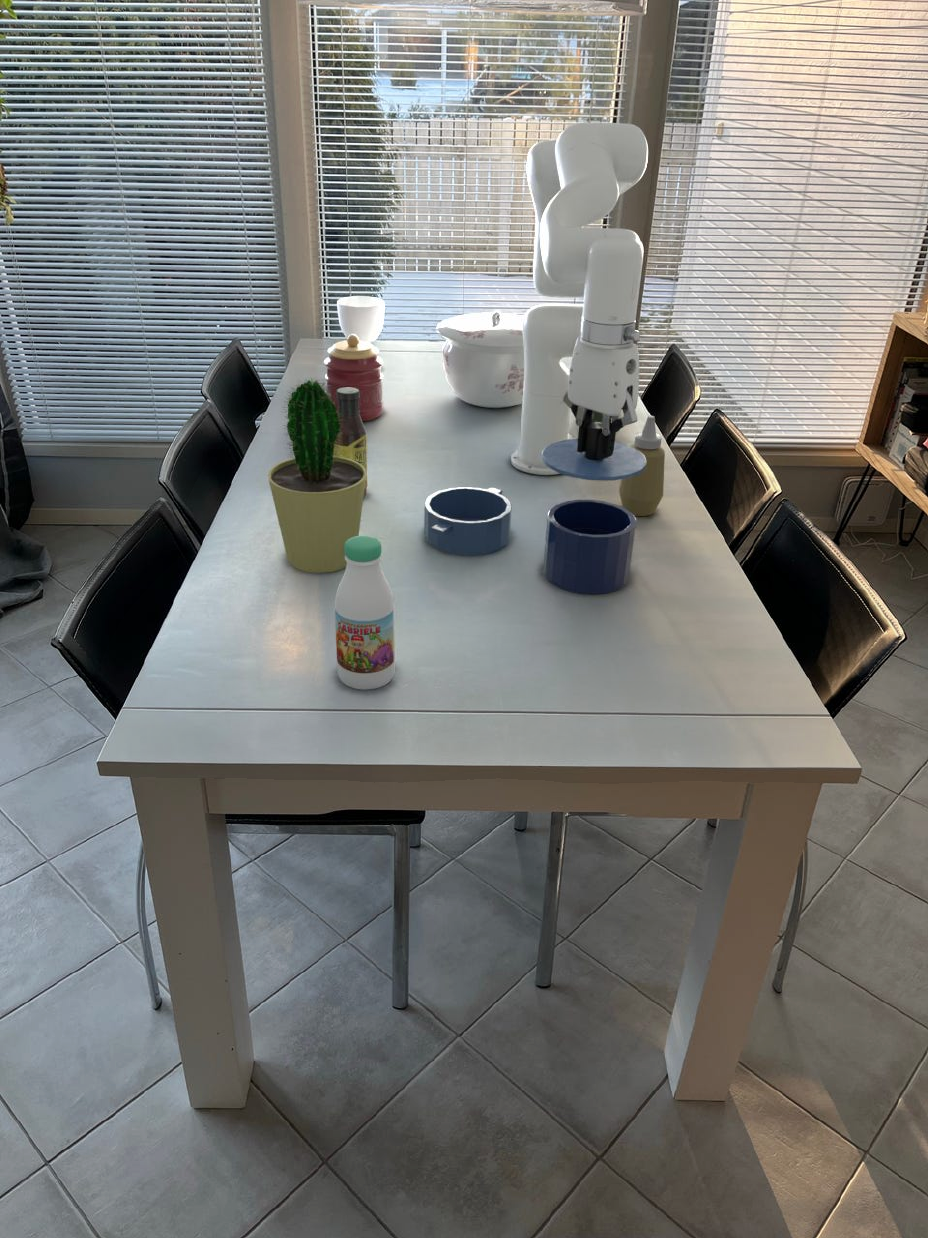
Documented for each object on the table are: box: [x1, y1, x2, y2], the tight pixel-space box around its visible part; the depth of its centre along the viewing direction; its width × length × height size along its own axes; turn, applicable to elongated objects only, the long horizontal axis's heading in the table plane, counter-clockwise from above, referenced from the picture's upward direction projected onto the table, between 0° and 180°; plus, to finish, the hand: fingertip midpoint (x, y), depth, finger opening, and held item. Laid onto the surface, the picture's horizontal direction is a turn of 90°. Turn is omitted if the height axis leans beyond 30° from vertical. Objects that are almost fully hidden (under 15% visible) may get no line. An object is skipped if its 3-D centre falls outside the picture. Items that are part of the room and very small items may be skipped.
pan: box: [423, 486, 513, 556], centre depth 166 cm, size 15×20×6 cm
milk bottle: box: [334, 535, 396, 691], centre depth 125 cm, size 8×8×20 cm
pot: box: [542, 499, 637, 595], centre depth 154 cm, size 14×14×10 cm
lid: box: [542, 422, 646, 482], centre depth 146 cm, size 16×16×6 cm
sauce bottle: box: [333, 387, 368, 497], centre depth 176 cm, size 7×6×20 cm
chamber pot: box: [435, 310, 525, 409], centre depth 225 cm, size 28×28×21 cm
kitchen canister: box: [323, 335, 385, 422], centre depth 215 cm, size 13×13×18 cm
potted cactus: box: [267, 378, 368, 574], centre depth 151 cm, size 15×15×30 cm
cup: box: [336, 295, 385, 344], centre depth 243 cm, size 12×12×17 cm
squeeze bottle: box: [618, 414, 666, 517], centre depth 174 cm, size 8×8×18 cm
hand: (594, 452), depth 146 cm, fingers closed on lid, 3 cm apart
